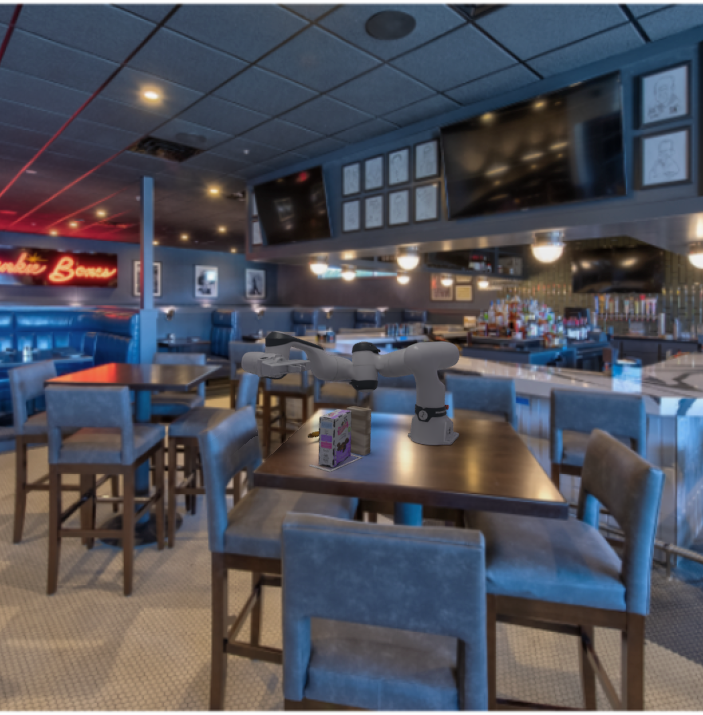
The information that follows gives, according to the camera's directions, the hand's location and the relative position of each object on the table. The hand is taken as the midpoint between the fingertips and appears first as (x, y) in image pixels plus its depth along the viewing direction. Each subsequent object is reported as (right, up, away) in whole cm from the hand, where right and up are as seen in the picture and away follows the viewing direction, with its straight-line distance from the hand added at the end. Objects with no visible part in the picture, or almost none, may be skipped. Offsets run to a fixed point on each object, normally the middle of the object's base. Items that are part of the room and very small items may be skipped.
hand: (303, 369), depth 163 cm
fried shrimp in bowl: (+8, -28, +20) cm, 36 cm away
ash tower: (+19, -30, +5) cm, 36 cm away
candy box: (+11, -31, -4) cm, 33 cm away
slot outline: (+12, -31, -5) cm, 34 cm away
